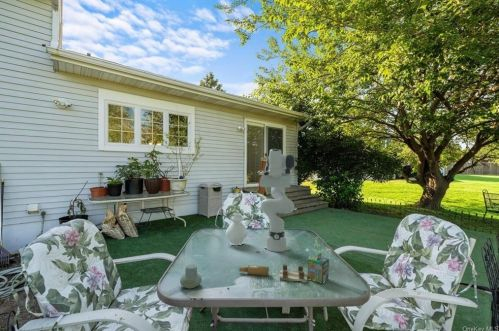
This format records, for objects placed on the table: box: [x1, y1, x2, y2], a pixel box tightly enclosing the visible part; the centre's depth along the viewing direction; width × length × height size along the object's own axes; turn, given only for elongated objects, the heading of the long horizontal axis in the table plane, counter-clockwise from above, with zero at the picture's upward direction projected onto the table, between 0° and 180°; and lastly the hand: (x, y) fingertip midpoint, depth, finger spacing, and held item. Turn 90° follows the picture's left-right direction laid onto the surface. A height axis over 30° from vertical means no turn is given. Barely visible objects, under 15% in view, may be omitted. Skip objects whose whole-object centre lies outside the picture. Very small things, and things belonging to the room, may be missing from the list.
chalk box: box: [307, 252, 330, 284], centre depth 141 cm, size 9×9×15 cm
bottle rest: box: [279, 263, 308, 283], centre depth 143 cm, size 11×15×5 cm
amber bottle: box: [238, 264, 270, 277], centre depth 146 cm, size 5×17×5 cm, turn 82°
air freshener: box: [179, 264, 203, 290], centre depth 129 cm, size 11×8×10 cm
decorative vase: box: [225, 212, 249, 246], centre depth 205 cm, size 18×18×25 cm
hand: (274, 194), depth 163 cm, fingers open, 8 cm apart
